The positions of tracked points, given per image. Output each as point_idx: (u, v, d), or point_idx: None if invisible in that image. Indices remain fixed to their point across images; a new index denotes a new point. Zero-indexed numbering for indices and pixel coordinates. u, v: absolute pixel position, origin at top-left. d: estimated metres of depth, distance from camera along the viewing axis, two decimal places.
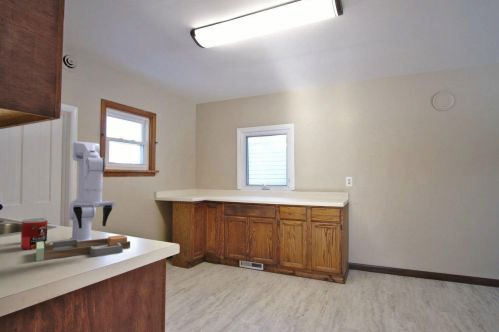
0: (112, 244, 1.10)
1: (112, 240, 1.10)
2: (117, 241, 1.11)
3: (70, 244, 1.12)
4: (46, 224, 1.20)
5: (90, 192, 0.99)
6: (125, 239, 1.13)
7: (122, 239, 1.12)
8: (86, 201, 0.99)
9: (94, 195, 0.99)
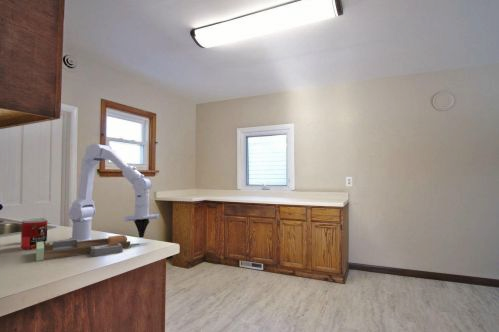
0: (112, 244, 1.10)
1: (112, 240, 1.10)
2: (117, 241, 1.11)
3: (70, 244, 1.12)
4: (46, 224, 1.20)
5: (140, 207, 1.17)
6: (125, 239, 1.13)
7: (122, 239, 1.12)
8: (137, 215, 1.17)
9: (143, 210, 1.18)
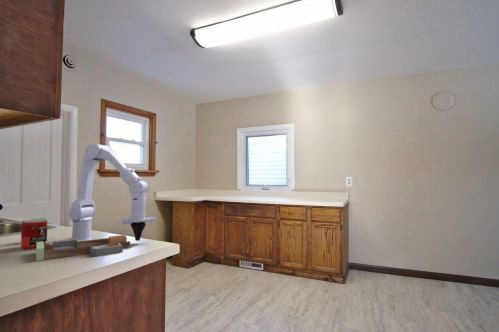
0: (111, 244, 1.10)
1: (111, 240, 1.10)
2: (116, 241, 1.11)
3: (70, 244, 1.12)
4: (46, 224, 1.20)
5: (136, 211, 1.16)
6: (125, 239, 1.12)
7: (122, 239, 1.12)
8: (133, 218, 1.16)
9: (140, 213, 1.17)
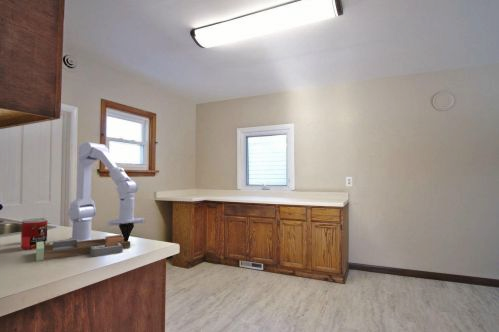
0: (109, 244, 1.09)
1: (109, 240, 1.09)
2: (114, 241, 1.10)
3: (70, 244, 1.12)
4: (46, 224, 1.20)
5: (124, 211, 1.13)
6: (122, 239, 1.12)
7: (119, 239, 1.11)
8: (121, 219, 1.13)
9: (128, 214, 1.14)
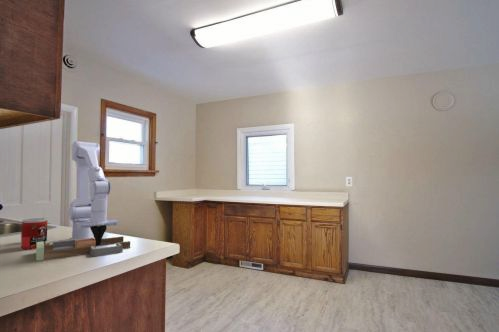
0: None
1: (79, 244, 1.02)
2: (84, 245, 1.03)
3: (70, 244, 1.12)
4: (46, 224, 1.20)
5: (95, 213, 1.07)
6: (93, 242, 1.05)
7: (90, 242, 1.05)
8: (92, 221, 1.07)
9: (99, 216, 1.07)
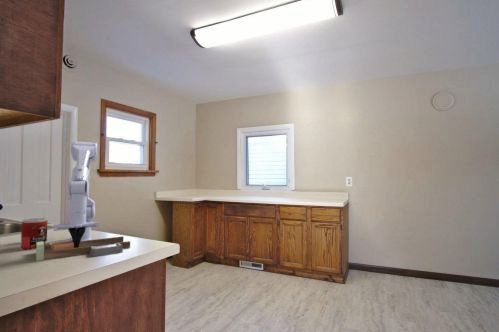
0: None
1: (55, 247, 0.97)
2: (61, 248, 0.99)
3: None
4: (46, 224, 1.20)
5: (73, 214, 1.02)
6: (71, 245, 1.01)
7: (68, 245, 1.00)
8: (70, 223, 1.02)
9: (78, 218, 1.03)
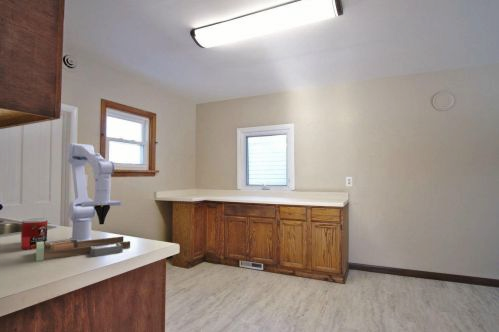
0: None
1: (55, 247, 0.97)
2: (62, 248, 0.99)
3: None
4: (46, 224, 1.20)
5: (99, 192, 1.09)
6: (71, 246, 1.01)
7: (68, 246, 1.00)
8: (96, 201, 1.09)
9: (103, 195, 1.10)
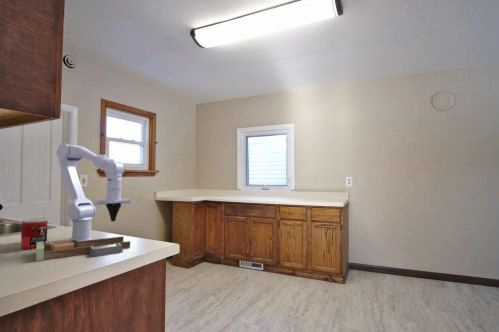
0: None
1: (56, 247, 0.97)
2: (62, 248, 0.99)
3: None
4: (46, 224, 1.20)
5: (111, 191, 1.17)
6: (72, 246, 1.01)
7: (68, 246, 1.00)
8: (108, 199, 1.17)
9: (115, 194, 1.17)
